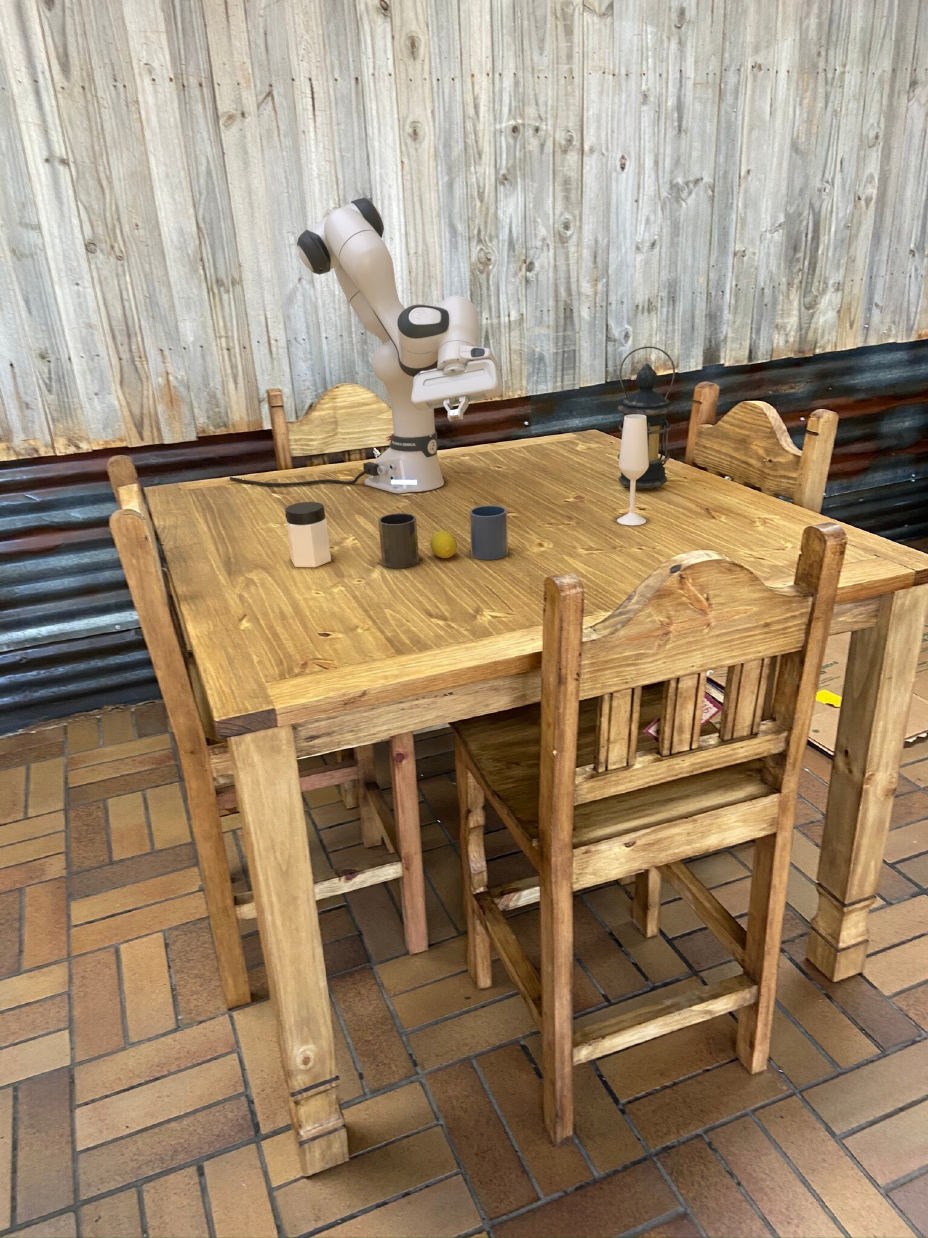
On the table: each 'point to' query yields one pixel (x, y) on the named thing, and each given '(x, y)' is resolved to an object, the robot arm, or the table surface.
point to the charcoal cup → (398, 540)
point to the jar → (308, 534)
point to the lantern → (649, 423)
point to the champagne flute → (633, 460)
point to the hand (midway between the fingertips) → (455, 418)
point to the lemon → (443, 544)
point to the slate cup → (488, 532)
